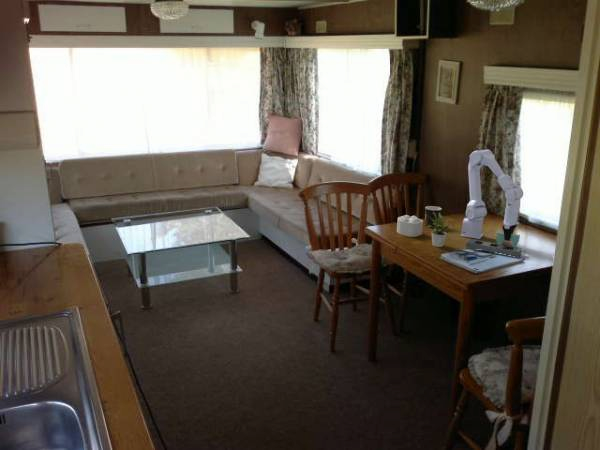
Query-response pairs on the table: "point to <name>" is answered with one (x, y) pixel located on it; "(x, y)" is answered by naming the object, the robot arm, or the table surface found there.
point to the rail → (494, 247)
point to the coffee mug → (431, 215)
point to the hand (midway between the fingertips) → (507, 239)
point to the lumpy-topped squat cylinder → (409, 226)
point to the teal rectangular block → (513, 238)
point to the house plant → (438, 231)
